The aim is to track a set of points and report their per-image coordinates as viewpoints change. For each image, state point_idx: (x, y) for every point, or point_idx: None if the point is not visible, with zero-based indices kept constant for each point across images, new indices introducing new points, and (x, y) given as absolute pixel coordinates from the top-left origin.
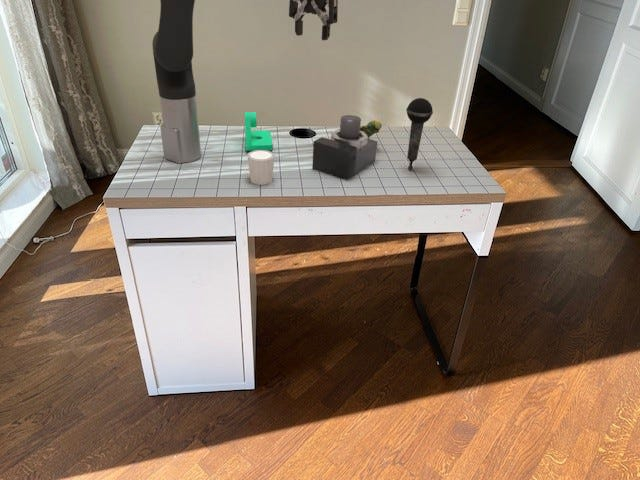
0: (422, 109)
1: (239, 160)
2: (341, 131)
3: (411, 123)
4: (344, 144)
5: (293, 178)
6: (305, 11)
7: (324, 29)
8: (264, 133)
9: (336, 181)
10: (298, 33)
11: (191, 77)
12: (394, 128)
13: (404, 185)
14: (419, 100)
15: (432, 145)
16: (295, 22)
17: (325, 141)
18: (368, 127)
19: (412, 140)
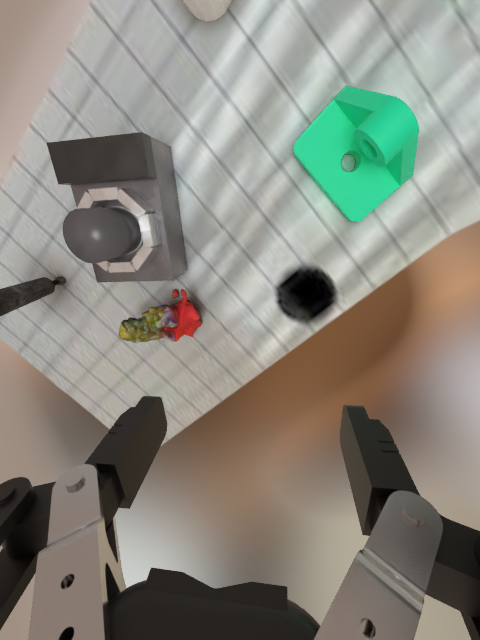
0: None
1: (327, 39)
2: (110, 209)
3: None
4: (84, 176)
5: (164, 66)
6: (297, 611)
7: (112, 444)
8: (355, 198)
9: (100, 133)
10: (346, 414)
11: None
12: (192, 415)
13: (25, 216)
14: None
15: (108, 387)
16: (409, 484)
17: (123, 156)
18: (140, 319)
19: (11, 287)
